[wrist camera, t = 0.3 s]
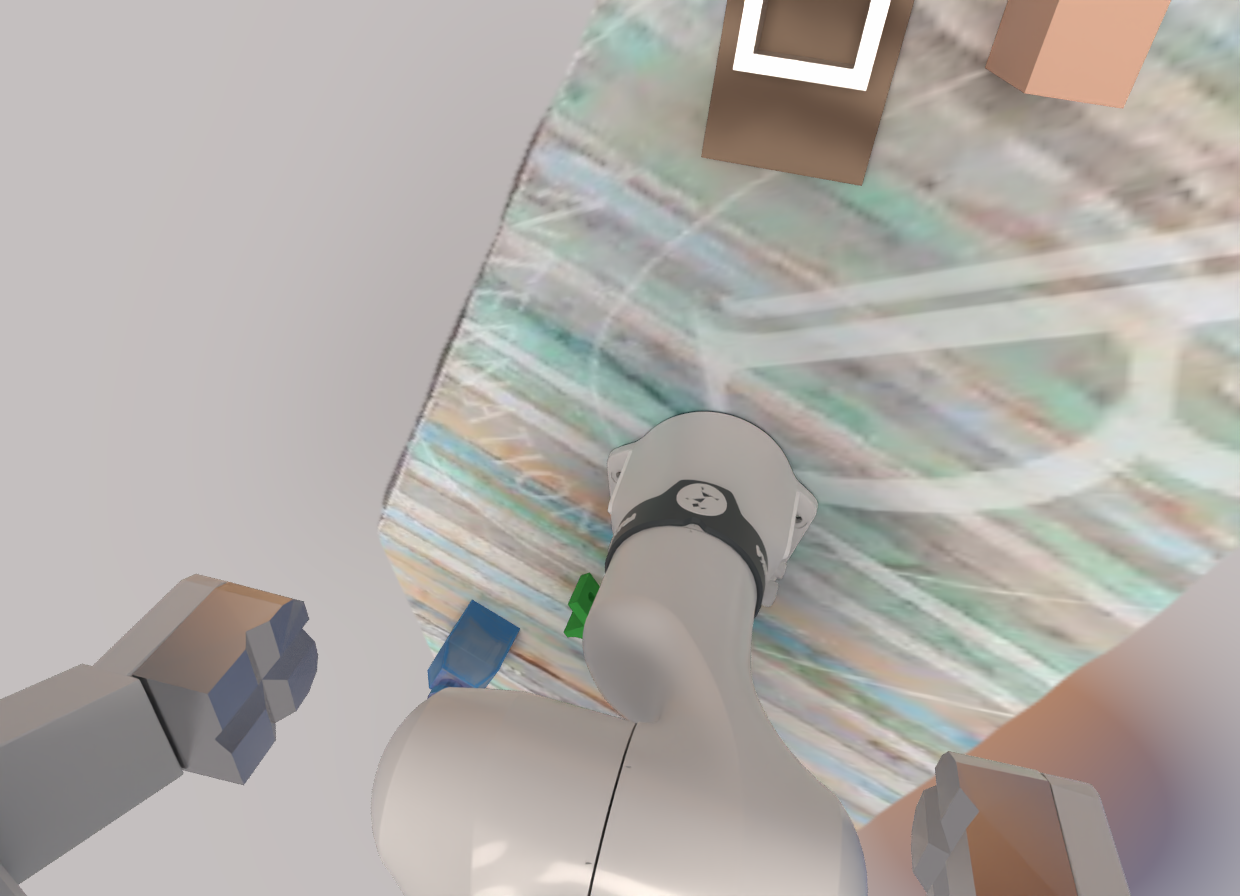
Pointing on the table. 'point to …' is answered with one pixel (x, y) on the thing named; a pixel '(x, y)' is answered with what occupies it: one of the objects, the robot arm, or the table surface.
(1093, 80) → the tall rectangular block
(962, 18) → the table surface
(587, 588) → the pipe clamp
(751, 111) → the holder base
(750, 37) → the square metal frame
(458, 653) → the perfume bottle
